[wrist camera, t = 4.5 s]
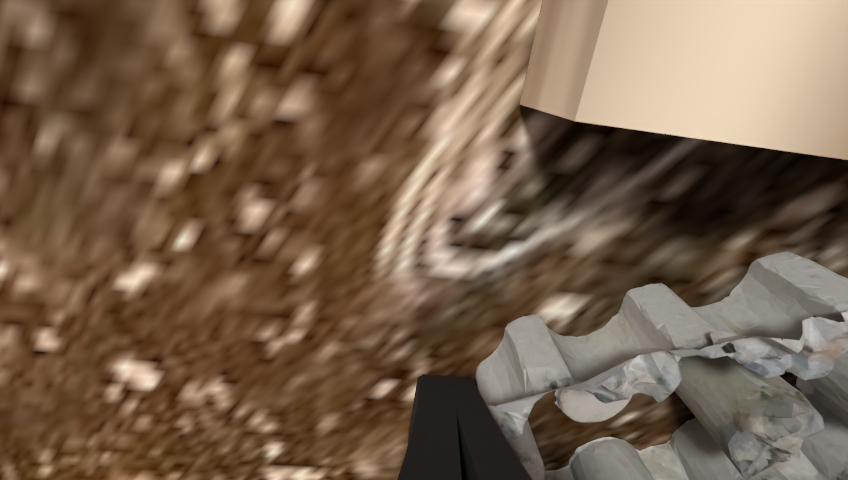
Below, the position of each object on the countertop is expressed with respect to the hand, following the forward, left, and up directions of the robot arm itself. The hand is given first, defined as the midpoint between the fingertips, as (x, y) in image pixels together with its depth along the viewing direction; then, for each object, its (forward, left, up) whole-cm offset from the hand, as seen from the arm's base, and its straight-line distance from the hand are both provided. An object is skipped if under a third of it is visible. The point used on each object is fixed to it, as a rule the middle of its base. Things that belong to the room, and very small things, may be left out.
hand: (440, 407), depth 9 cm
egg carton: (-7, 0, -2) cm, 7 cm away
